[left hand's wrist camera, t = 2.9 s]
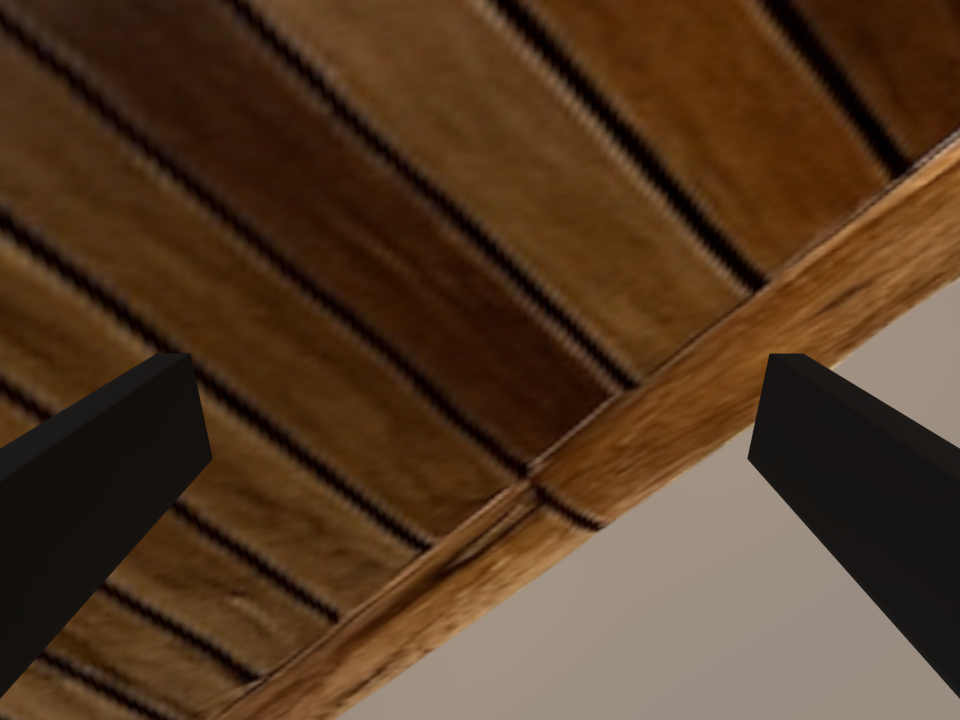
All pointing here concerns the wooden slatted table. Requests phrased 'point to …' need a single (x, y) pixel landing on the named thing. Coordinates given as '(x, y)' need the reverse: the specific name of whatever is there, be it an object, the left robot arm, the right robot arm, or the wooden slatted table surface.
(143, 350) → the wooden slatted table surface
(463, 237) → the wooden slatted table surface
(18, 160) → the wooden slatted table surface
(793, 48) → the wooden slatted table surface
